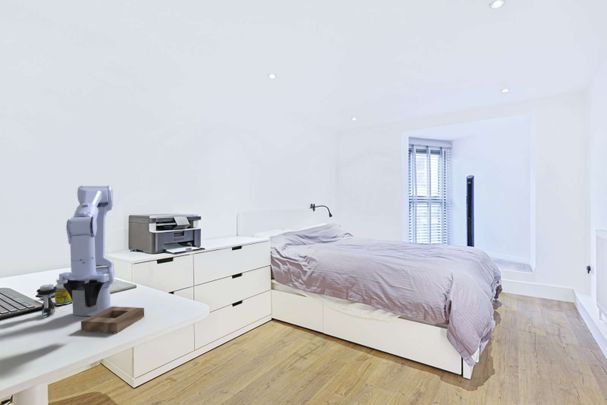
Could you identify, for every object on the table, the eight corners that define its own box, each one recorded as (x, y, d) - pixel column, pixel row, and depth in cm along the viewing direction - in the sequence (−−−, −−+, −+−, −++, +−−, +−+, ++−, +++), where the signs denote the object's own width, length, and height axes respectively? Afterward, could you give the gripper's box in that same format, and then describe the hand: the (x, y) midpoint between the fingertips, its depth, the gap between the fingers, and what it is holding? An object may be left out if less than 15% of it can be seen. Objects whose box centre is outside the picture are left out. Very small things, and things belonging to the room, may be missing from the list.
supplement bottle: (76, 300, 120) (75, 275, 119) (68, 305, 114) (67, 279, 114) (60, 301, 118) (59, 276, 118) (52, 306, 113) (51, 280, 113)
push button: (53, 317, 103) (52, 288, 102) (33, 320, 101) (32, 290, 100) (60, 310, 109) (59, 282, 108) (41, 313, 107) (40, 284, 106)
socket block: (81, 330, 92) (80, 321, 92) (112, 315, 104) (111, 306, 104) (117, 333, 91) (116, 323, 90) (144, 316, 102) (143, 307, 102)
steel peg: (73, 314, 87) (72, 290, 87) (85, 309, 91) (84, 285, 91) (85, 315, 86) (84, 290, 86) (97, 310, 90) (96, 286, 90)
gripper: (47, 261, 85) (50, 309, 86) (93, 262, 83) (95, 312, 84) (70, 256, 92) (72, 300, 93) (114, 256, 90) (115, 302, 91)
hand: (85, 305), depth 89 cm, fingers closed on steel peg, 4 cm apart
